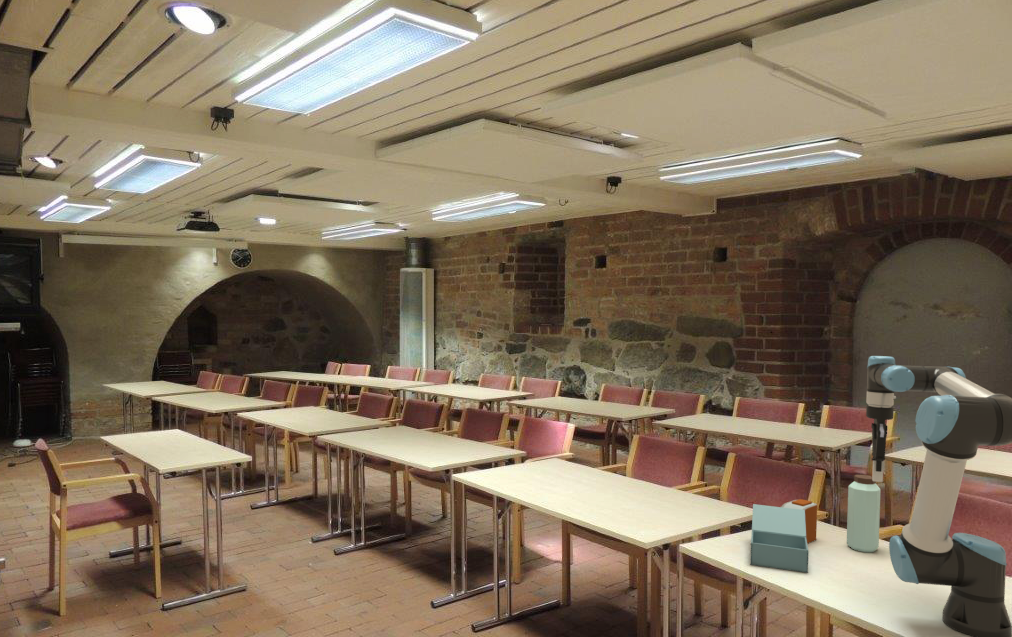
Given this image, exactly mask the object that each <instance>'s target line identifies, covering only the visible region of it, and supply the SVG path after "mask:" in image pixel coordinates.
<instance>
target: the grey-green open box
mask: <svg viewBox="0 0 1012 637" xmlns="http://www.w3.org/2000/svg"><path fill="white" fill-rule="evenodd" d="M750 537H751V539H750V565H751V566H756V567H757V566H758V567H765V568H772V569H780V570H786V571H793V572H799V573H809V546H808V544H807V539H806V537H801V536H793V535H785V534H777V533H769V532H762V531H754V530H752V529H751V536H750Z"/></svg>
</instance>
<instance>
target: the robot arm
mask: <svg viewBox="0 0 1012 637" xmlns="http://www.w3.org/2000/svg"><path fill="white" fill-rule="evenodd" d="M866 369H867V372H866V373H867V378H866V381H867V382H866V399H865V401H866V404H867V406H866V408H865V415H866V418H868V419H873V422H871V428H870V429H871V436H872V438H871V439H872V440H871V444H872V445H871V446H872V449H871V452H872V453H871V456H872V457H871V461H872V475H871V476H872V480H873V481H876V483H883V482H884V462H885V460H886V447H887V446H886V445H887V436H888V425H887V424H886V420H887V421H888V420H889V421H891V420H894V412H895V410H894V407H893V406H894V404H895V399H897V396H896V395H895V393H896V392H899V393H902V392H903V393H904V392H923V393H924V392H925V393H936V394H937V395H931V396H928V397H926V398H925V399H924V400H923V401H922V402H921V403H920V405H919V407H918V410H917V411H916V416H915V424H916V425H915V432H916V435H917V437H918V440H920V441H921V445H922V446H923V448H924V449H926V452H925V458H924V462H923V465H922V466H923V467H922V471H921V474H920V475H921V476H920V479H919V483H918V488H917V493H916V497H915V498H916V499H915V501H914V507H913V511H912V515H911V520H910V523H907V524H905V525H904V526H903V527H902V530H901V534H900V535H893V536H891V537H890V539H889V543H888V548H889V550H888V551H889V557H890V562H891V564H892V568H893V570H894V573H895V574H896V577H898V579H899V580H901V581H903V582H905V583H913V584H915V585H919V584H922V585H935V586H949V587H950V593H949V596H948V598H947V600H946V602H945V605H944V606H943V609H942V617H941V620H942V621H943V622H944V624H946V626H948V627H950V628H951V629H953V630H955V631H958V633H959V632H960V633H963V634H965V635H968V636H972V637H1012V622H1011V619H1010V616H1009V613H1008V610H1007V607H1006V606H1007V605H1006V604H1005V603H1006V602H1005V596H1006V595H1005V594H1006V573H1007V572H1006V569H1007V565H1008V564H1007V552H1006V550H1005V548H1004V547H1003V546H1002V545H1001V544H999V543H997V542H996V541H993V540H990V539H988V538H985V537H982V536H980V535H975V534H970V533H966V532H954V533H953V534H952V537H951V536H950V535H949V534H950V529H951V525H952V523H953V517H954V513H955V510H956V504H957V501H958V498H959V493H960V489H961V485H962V481H963V478H964V477H963V476H964V473H965V469H966V465H967V461H968V460H969V461H970V460H972V459H974V458H975V457H976V455H977V453H978V449H979V447H980V446H987V447H990V446H991V447H1001V446H1002V447H1003V446H1006V445H1011V444H1012V397H1010V396H1008V395H1006V394H1004V393H1003V394H1002V393H994V392H992V391H990V390H988V389H986V388H984V387H983V386H981V385H979V384H976V383H975V382H974V381H971V380H970V379H967V378H966V377H967V376H966V374H965V373H964V370H963V369H961V368H959V367H952V366H948V365H947V366H928V365H927V366H926V365H925V366H924V365H900V364H896V359H895V357H893V356H885V355H884V356H883V355H871V356H868V360H867V366H866Z"/></svg>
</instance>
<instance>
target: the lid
mask: <svg viewBox="0 0 1012 637" xmlns="http://www.w3.org/2000/svg"><path fill="white" fill-rule="evenodd" d="M751 518H752V520H751V522H752V524H751V531H752V530H754V531H762V532H769V533H777V534H785V535H793V536H801V537H806V524H805V510H800V509H792V508H783V507H781V506H780V507H779V506H773V505H764V504H756V503H753V504H752V517H751Z"/></svg>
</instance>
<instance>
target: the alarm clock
mask: <svg viewBox="0 0 1012 637" xmlns="http://www.w3.org/2000/svg"><path fill="white" fill-rule="evenodd" d="M780 507H783V508H792V509H800V510H805V524H806V539H807V543H808V544H810V543H813V542H815V541H816V540H817V530H818V529H817V527H818V526H817V524H818V523H817V522H818V504H817V503H815V502H812V500H806V499H802V498H800V499H794V500H791V501H788V502H784V503H782V505H781V506H780ZM814 540H815V541H814ZM812 541H813V542H812ZM809 542H810V543H809Z"/></svg>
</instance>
